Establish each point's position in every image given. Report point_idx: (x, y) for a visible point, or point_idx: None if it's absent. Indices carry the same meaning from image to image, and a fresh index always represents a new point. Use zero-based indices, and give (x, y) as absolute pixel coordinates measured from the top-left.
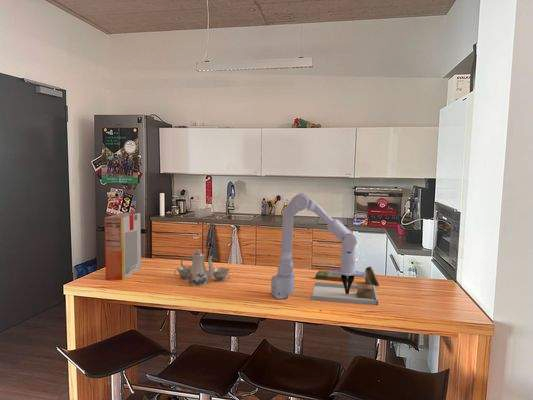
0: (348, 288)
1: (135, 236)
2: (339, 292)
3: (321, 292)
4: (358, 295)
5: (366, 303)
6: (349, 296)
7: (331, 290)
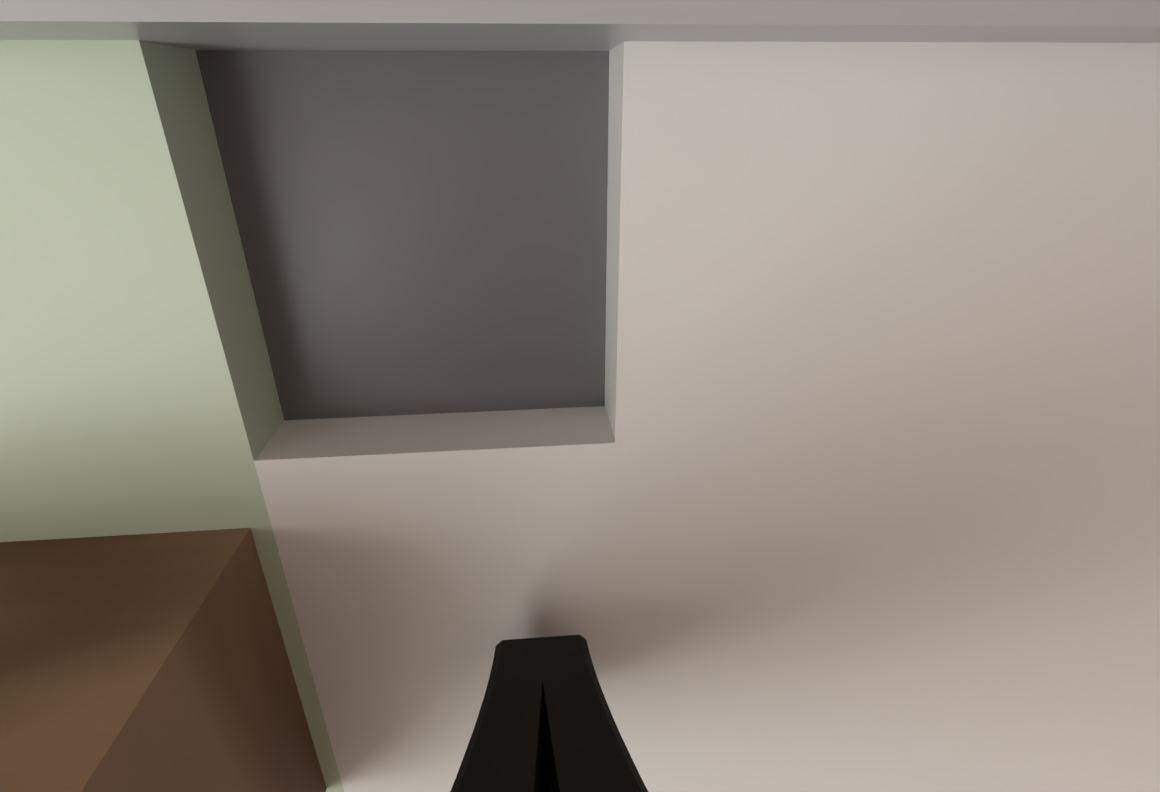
0: (501, 780)
1: None
2: (711, 719)
3: (1116, 617)
4: (187, 575)
5: None
6: (472, 550)
7: (866, 768)
